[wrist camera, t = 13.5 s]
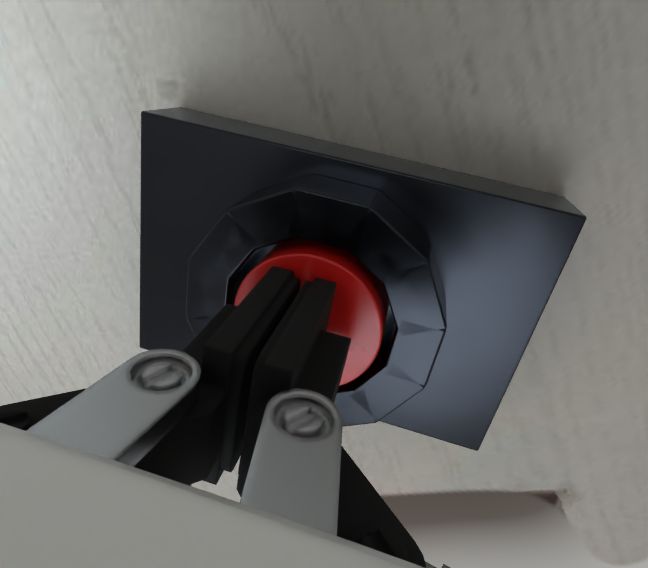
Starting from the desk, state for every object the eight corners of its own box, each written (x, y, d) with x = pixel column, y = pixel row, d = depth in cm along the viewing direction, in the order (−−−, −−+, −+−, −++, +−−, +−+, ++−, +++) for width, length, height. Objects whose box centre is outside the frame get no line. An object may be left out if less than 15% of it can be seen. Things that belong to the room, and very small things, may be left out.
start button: (405, 253, 12) (400, 278, 11) (370, 371, 14) (362, 407, 12) (265, 216, 13) (240, 235, 11) (249, 335, 14) (226, 366, 13)
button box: (565, 196, 13) (613, 240, 9) (473, 407, 16) (483, 498, 13) (180, 106, 14) (96, 115, 11) (171, 318, 18) (105, 377, 14)
